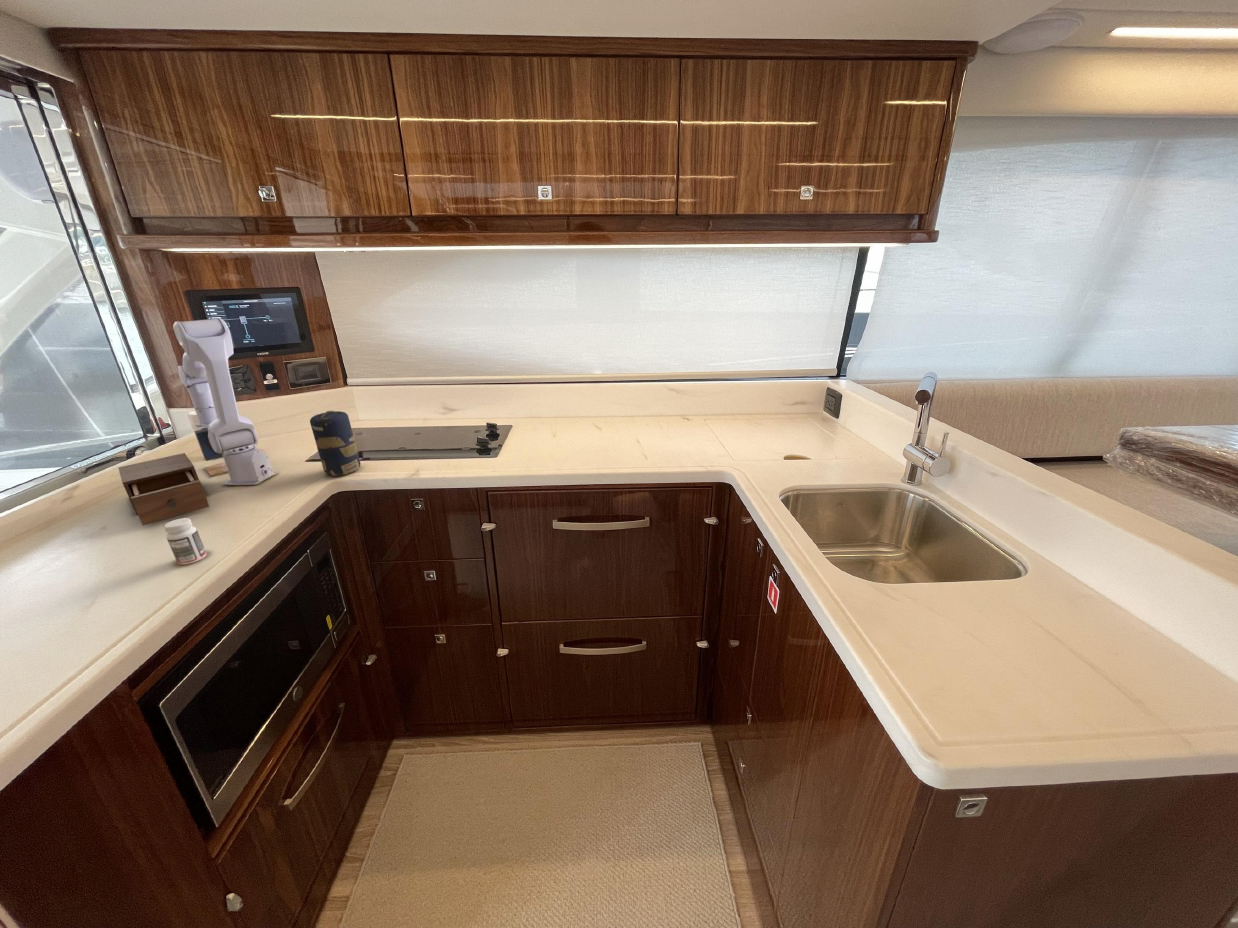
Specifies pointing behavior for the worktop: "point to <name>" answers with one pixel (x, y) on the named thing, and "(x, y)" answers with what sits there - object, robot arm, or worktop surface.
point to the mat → (217, 469)
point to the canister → (335, 442)
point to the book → (206, 446)
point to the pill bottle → (184, 541)
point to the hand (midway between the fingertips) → (222, 451)
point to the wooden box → (154, 471)
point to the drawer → (167, 497)
